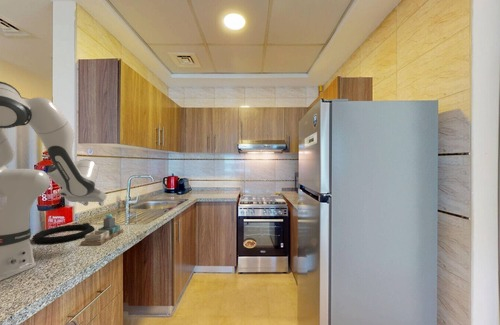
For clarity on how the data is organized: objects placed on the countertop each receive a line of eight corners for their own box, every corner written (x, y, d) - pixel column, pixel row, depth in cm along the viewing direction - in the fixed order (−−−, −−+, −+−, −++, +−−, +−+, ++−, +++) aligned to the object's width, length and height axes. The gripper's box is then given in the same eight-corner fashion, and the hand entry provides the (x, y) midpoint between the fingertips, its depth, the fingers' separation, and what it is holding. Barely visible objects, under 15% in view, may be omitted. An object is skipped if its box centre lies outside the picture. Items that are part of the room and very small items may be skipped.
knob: (109, 233, 132) (109, 215, 132) (103, 233, 133) (103, 215, 133) (115, 231, 136) (114, 214, 136) (109, 231, 137) (109, 213, 137)
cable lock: (16, 237, 121) (67, 221, 151) (16, 244, 121) (67, 227, 151) (66, 238, 118) (108, 222, 148) (66, 246, 118) (108, 228, 148)
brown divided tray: (100, 245, 118) (100, 236, 118) (80, 245, 118) (80, 236, 118) (123, 231, 140) (123, 224, 140) (106, 232, 140) (106, 224, 140)
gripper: (99, 182, 115) (115, 199, 125) (63, 183, 119) (81, 199, 128) (92, 193, 111) (108, 209, 121) (55, 193, 114) (74, 209, 124)
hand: (94, 204), depth 125 cm, fingers open, 8 cm apart
